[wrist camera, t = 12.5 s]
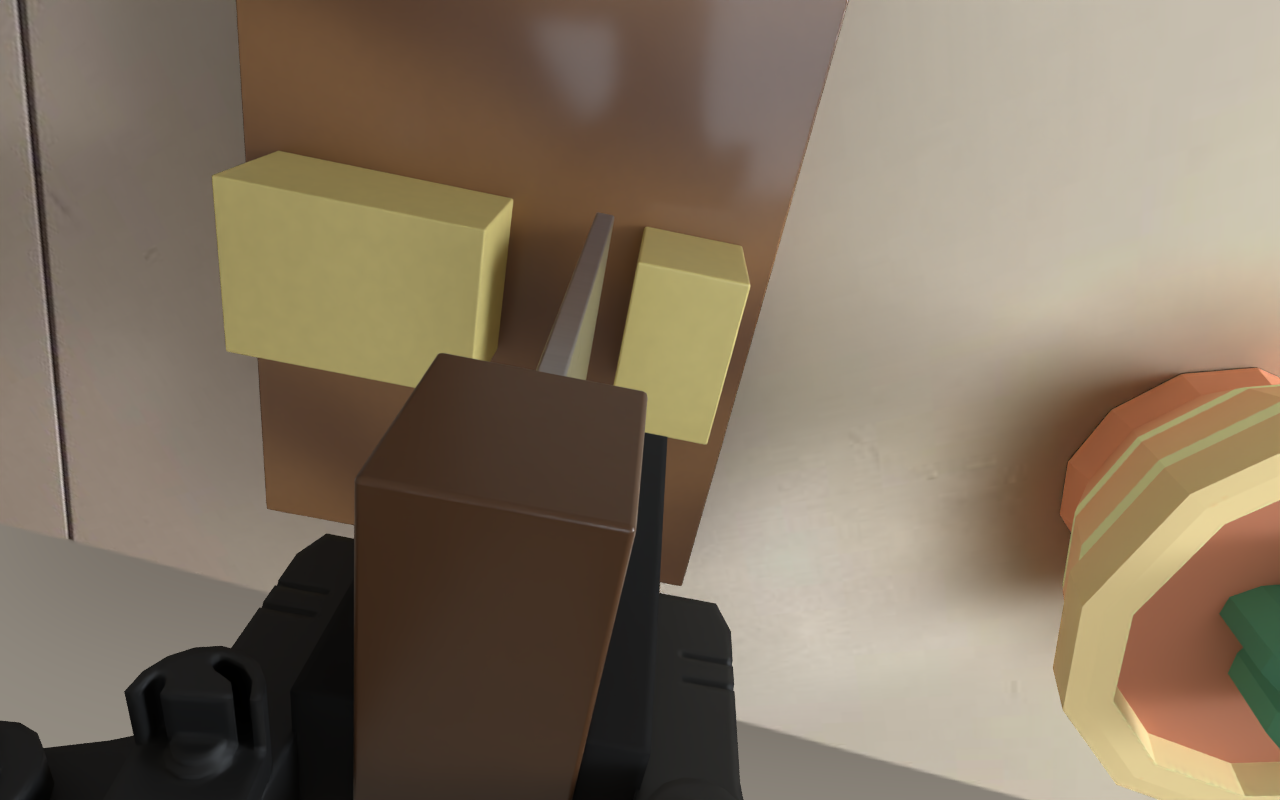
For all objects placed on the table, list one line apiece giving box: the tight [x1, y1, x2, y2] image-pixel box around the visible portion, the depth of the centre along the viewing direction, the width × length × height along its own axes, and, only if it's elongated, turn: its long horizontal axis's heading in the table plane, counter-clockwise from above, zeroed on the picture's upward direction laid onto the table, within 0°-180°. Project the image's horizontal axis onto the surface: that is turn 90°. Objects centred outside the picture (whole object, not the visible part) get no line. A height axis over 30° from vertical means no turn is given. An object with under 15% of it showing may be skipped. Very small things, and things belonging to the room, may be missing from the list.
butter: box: [212, 151, 513, 388], centre depth 22 cm, size 5×7×4 cm
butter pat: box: [613, 227, 750, 445], centre depth 22 cm, size 5×3×4 cm, turn 169°
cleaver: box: [353, 212, 648, 800], centre depth 13 cm, size 9×2×11 cm, turn 169°
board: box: [236, 0, 849, 586], centre depth 24 cm, size 22×16×2 cm
